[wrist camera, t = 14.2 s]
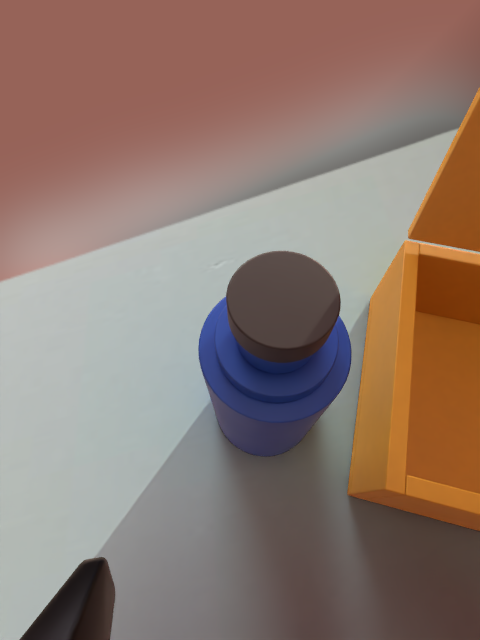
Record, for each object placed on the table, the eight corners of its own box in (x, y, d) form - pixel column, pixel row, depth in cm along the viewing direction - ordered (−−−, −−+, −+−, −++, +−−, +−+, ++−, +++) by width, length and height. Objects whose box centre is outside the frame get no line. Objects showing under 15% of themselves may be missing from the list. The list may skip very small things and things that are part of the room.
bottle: (332, 412, 20) (426, 307, 10) (259, 479, 19) (275, 441, 8) (268, 343, 22) (288, 192, 12) (196, 399, 21) (145, 285, 10)
